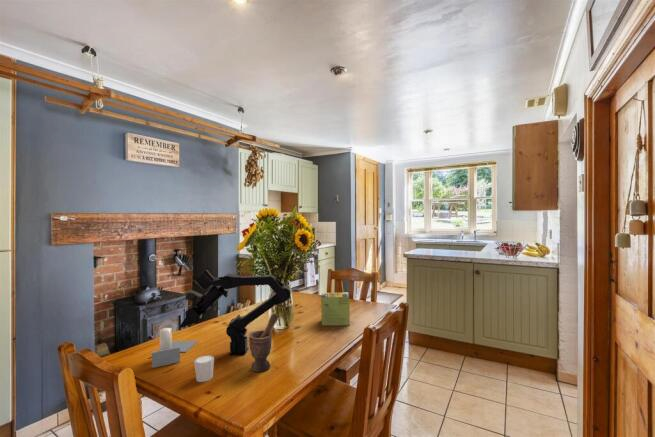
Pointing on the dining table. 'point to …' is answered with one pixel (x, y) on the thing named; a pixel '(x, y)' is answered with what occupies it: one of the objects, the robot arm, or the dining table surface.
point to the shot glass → (204, 368)
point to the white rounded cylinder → (165, 338)
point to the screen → (165, 357)
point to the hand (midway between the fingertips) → (184, 323)
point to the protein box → (335, 308)
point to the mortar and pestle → (262, 346)
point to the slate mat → (183, 345)
